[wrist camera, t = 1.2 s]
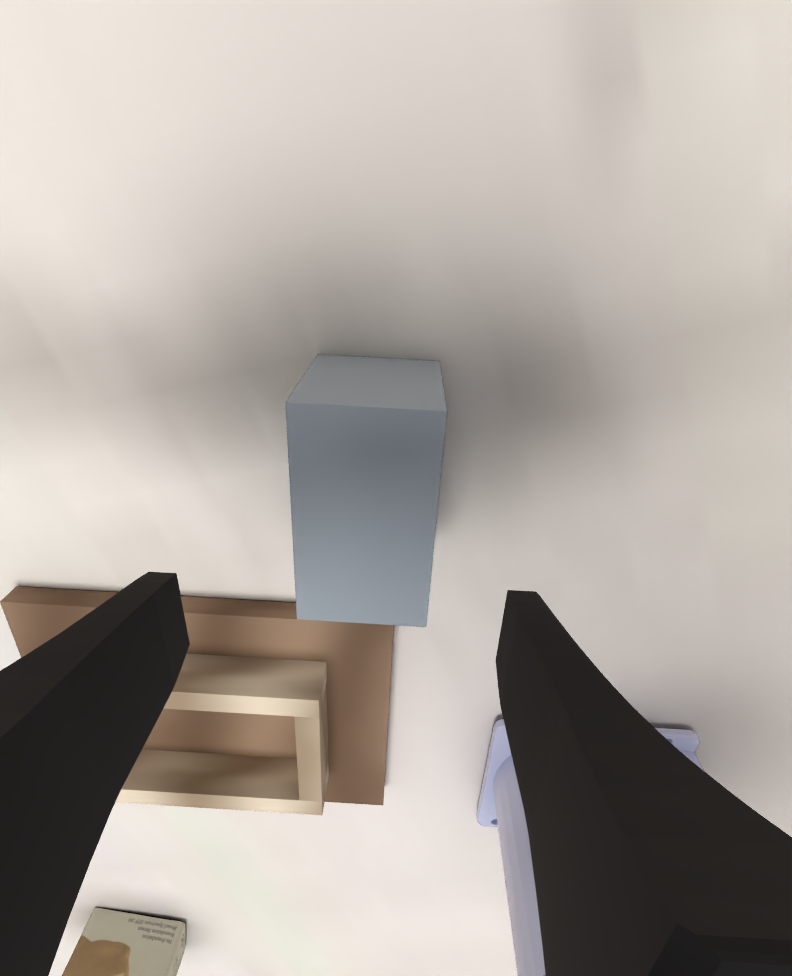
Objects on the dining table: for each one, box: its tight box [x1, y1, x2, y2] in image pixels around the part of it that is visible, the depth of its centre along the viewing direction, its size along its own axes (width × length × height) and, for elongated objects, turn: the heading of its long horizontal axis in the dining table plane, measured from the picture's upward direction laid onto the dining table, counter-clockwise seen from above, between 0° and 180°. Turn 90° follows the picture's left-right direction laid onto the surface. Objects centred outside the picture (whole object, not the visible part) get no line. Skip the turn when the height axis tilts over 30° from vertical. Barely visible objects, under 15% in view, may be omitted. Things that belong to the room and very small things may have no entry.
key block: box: [286, 354, 447, 627], centre depth 17 cm, size 4×7×5 cm, turn 177°
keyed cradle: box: [0, 586, 394, 815], centre depth 24 cm, size 16×12×3 cm
